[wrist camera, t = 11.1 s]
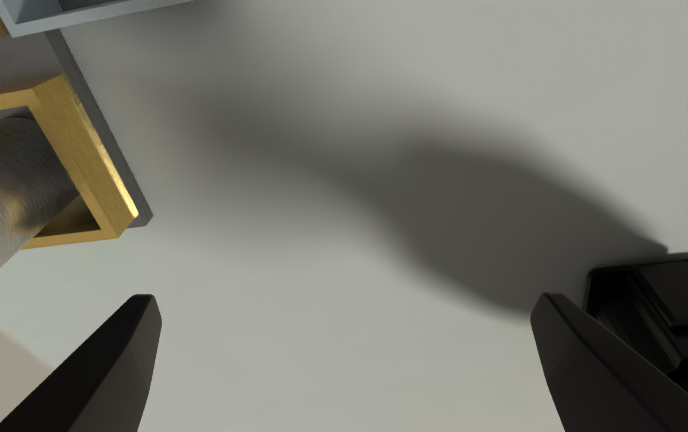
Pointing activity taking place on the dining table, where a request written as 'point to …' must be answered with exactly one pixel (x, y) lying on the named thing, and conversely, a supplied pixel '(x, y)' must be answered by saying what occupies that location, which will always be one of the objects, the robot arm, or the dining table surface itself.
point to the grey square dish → (66, 13)
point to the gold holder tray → (70, 138)
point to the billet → (28, 184)
